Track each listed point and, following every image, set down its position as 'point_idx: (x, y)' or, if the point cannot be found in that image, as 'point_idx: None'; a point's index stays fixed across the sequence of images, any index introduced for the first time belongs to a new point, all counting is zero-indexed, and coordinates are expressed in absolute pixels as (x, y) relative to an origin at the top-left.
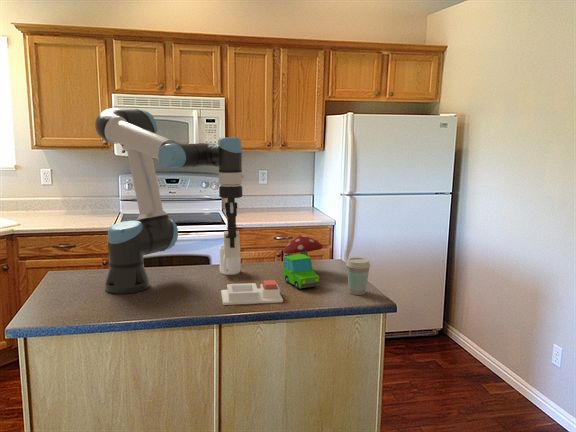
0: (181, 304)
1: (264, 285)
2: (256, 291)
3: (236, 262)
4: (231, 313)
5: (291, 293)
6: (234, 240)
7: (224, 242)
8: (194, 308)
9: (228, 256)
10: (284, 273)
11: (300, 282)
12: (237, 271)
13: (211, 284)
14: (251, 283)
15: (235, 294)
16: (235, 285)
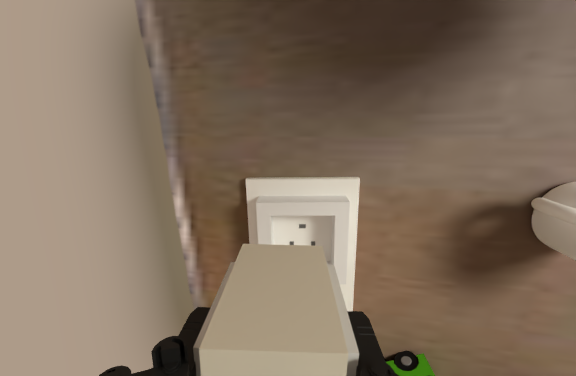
0: (261, 52)
1: None
2: None
3: (571, 253)
4: (183, 196)
5: None
6: None
7: (221, 296)
8: (224, 96)
9: (230, 265)
10: (426, 369)
11: None
12: (541, 240)
13: (443, 149)
14: (344, 273)
15: (257, 220)
16: (334, 226)
